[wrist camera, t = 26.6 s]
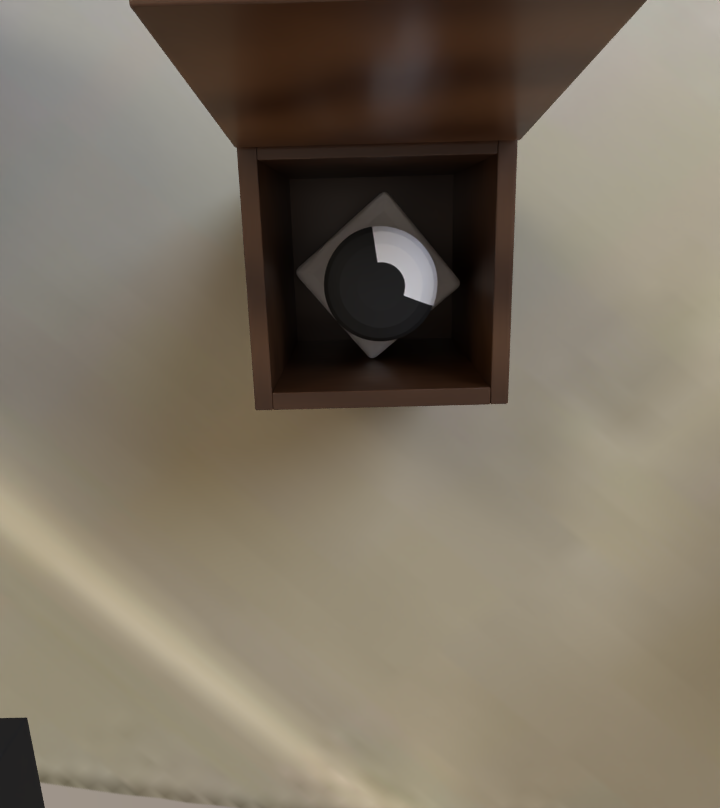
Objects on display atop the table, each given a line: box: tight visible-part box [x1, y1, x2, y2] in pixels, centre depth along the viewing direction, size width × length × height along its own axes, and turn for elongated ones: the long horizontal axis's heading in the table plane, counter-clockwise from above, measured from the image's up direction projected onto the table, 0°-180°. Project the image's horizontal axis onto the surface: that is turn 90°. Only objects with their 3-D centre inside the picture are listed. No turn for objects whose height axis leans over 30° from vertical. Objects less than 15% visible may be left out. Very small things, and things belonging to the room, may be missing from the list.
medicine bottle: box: [296, 192, 460, 358], centre depth 40 cm, size 7×7×12 cm
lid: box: [129, 0, 647, 148], centre depth 23 cm, size 14×13×1 cm
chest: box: [237, 140, 517, 410], centre depth 39 cm, size 13×13×15 cm
